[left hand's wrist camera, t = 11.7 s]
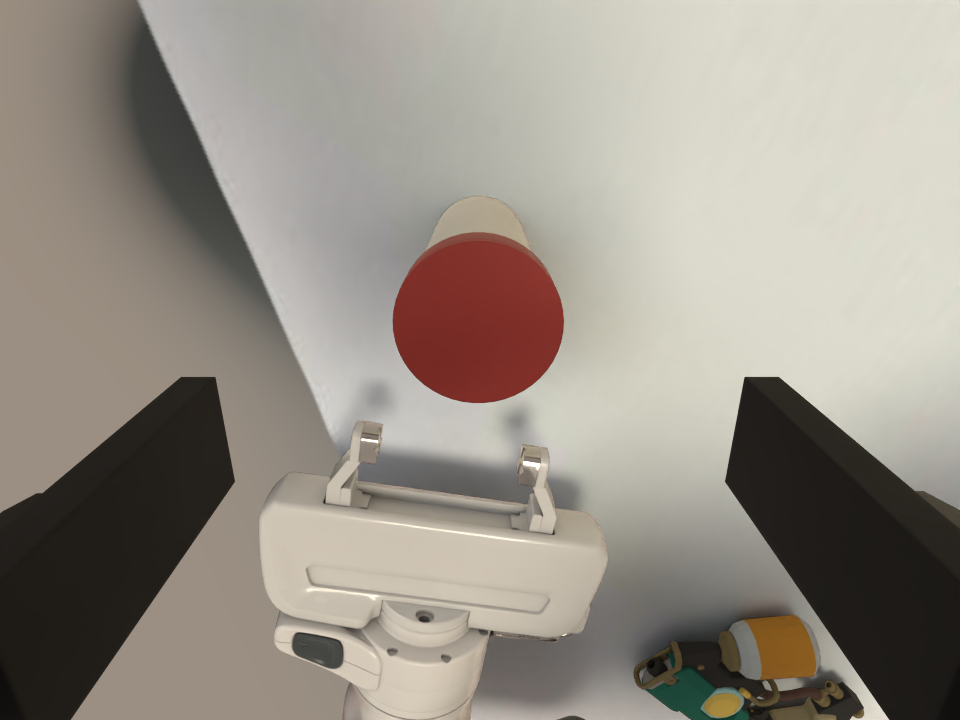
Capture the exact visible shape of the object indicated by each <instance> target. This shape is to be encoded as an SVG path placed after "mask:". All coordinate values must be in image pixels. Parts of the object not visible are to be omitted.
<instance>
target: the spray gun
mask: <svg viewBox="0 0 960 720" xmlns="http://www.w3.org/2000/svg"><path fill="white" fill-rule="evenodd" d="M672 651H673V653H674V654H673V653H671V652H672ZM669 653H670V654H669ZM667 654H668V657H669V659H668V658H667V657H666V655H667ZM721 661H722V662H723V663H724V664H723V663H722V662H721ZM819 665H820V651H819V646H818V643H817V640H816V637H815V635H814V632H813V630H812V629H811V627H810V626H809V625H808V624H807V623H806V622H805V621H803V620H802V619H801V618H799V617H798V616H796V615H786V616H776V617H765V618H755V619H745V620H741V621H738V622H736V623H733V624H732V625H731V627H730V629H729V630H728V631H721V632H720V635H719V640H718V642H679V643H678V644H677V642H676V641H671V642H670V643H669V647H668V648H666V649H664V650H663V651H661V652H659V653H658V654H656V655H654V656H652V657H651V658H649V659H647V660H645V661H644V662H642V663H640V664H638V665H637V666H636V667H635V669H634V678H635V682H636V684H637V686H638V687H640V688H641V689H643V690H644V689H645V690H646V691H648V692H649V693H650V694H651V695H653V696H654V697H655V698H657V699H658V700H659V701H661V702H662V703H663V704H664V705H666V706H667V707H668V708H670V709H671V710H673V711H677V712H678V711H680V712H681V713H683V714H684V715H685V716H687V717H688V718H689V719H691V720H850V719H851V717H852V716H854V717H855V718H862V717H863V715H864V710H863V709H864V707H863V706H862V704H861V702H860V700H859V699H858V697H857V695H856V694H855V693H854V692H853V691H852V690H851V689H850V688H849V687H848V686H847V685H845V684H844V683H843V682H841V683H839V684H835V683H834V682H833V681H829V680H828V681H826V682H825V683H824V686H825V689H823V690H820V689H819V688H811V687H803V688H798V689H793V690H787V691H778V688H777V685H776V683H775V681H774V680H773V679H780V678H796V677H813V676H815V674H816V672H817V670H818V668H819ZM646 666H647V670H646V671H645V672H644V674H643V677H642V684H641V681H640V678H639V673H640V671H641V670H642V669H643V668H645V667H646ZM764 680H767V681H768V683H769V684H770V686H771V689H772V691H769V690H766V689H765V688H764V686H763V683H762V681H764ZM758 696H760V697H762V698H765V699H762V700H760V699H757V698H756V697H758ZM805 697H809V698H807V699H806V701H805V703H804V705H801V706H794V707H787V708H780V709H773V710H770V711H769V710H768V708H767V707H763V708H762V709H761V710H760V711H753V710H751V711H748V710H747V708H748V707H749V705H750V704H751V702H753V703H754V704H756V705H758V706H770V705H773V704H774V703H776V702H777V701H789V700H796V699H800V698H805Z"/></svg>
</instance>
